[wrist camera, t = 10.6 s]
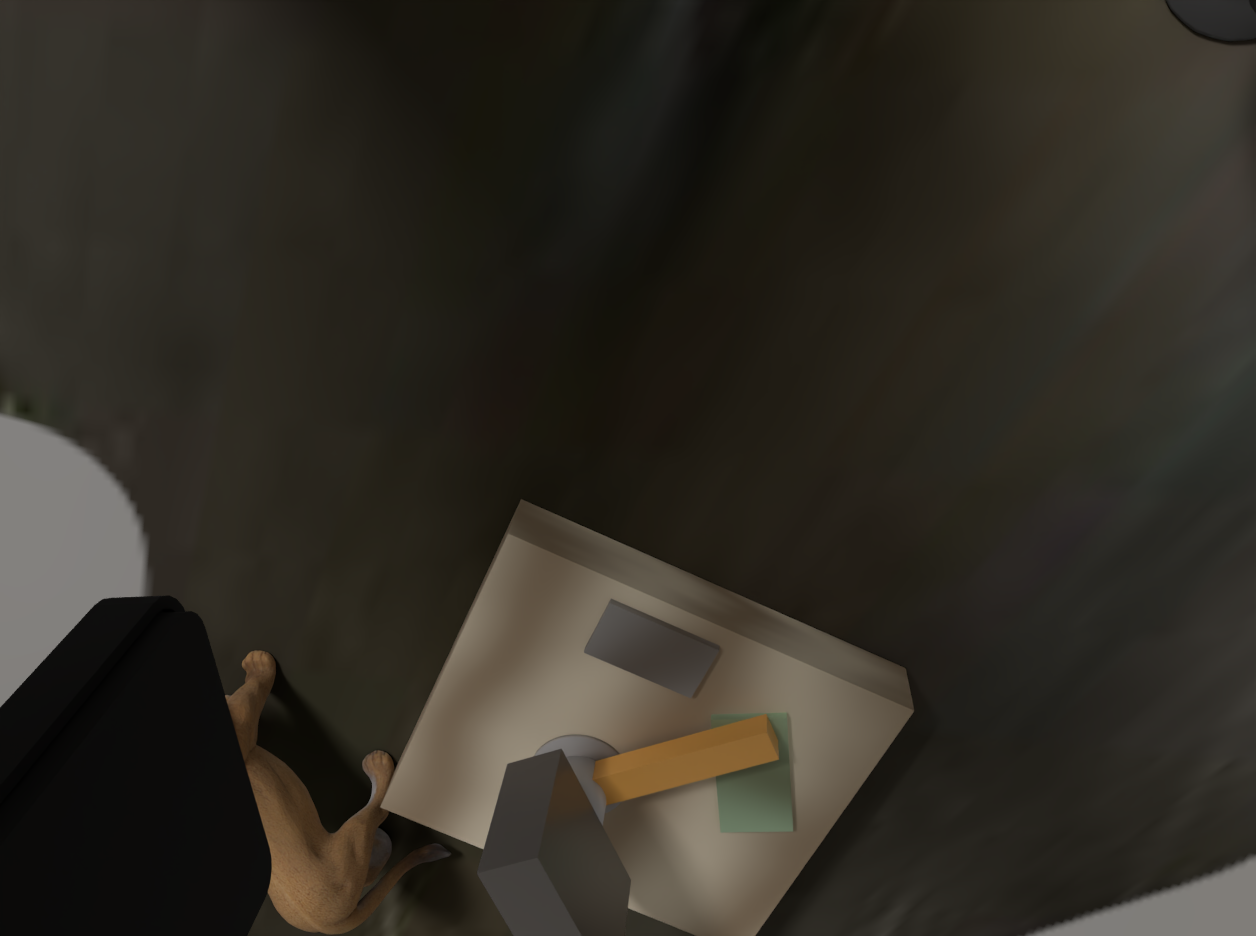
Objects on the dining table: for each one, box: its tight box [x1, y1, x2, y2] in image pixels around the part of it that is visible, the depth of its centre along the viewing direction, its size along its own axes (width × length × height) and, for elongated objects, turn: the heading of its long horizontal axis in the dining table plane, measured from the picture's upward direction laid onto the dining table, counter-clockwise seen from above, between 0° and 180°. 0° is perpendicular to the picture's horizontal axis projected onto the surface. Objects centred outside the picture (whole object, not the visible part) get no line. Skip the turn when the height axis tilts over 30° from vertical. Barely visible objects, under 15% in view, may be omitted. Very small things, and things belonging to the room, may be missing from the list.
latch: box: [477, 714, 779, 936], centre depth 39 cm, size 8×6×7 cm
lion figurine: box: [225, 650, 451, 934], centre depth 43 cm, size 15×5×9 cm, turn 50°
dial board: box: [380, 499, 914, 936], centre depth 44 cm, size 15×13×3 cm
